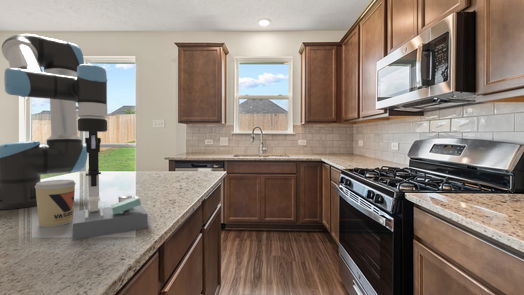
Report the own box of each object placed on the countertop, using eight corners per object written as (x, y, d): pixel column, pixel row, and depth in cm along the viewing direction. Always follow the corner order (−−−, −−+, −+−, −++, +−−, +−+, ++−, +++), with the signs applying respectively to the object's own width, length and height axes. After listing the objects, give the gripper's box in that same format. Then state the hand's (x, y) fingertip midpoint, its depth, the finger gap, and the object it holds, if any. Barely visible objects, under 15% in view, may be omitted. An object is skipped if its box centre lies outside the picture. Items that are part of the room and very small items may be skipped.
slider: (88, 209, 76) (87, 197, 76) (99, 208, 78) (99, 196, 78) (88, 212, 74) (87, 199, 73) (99, 211, 75) (99, 198, 75)
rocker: (112, 211, 74) (110, 204, 74) (139, 201, 78) (137, 195, 77) (113, 214, 71) (111, 207, 70) (141, 204, 74) (139, 197, 74)
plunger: (118, 206, 80) (118, 196, 80) (131, 204, 82) (131, 195, 82) (119, 208, 77) (119, 198, 77) (132, 207, 79) (132, 197, 79)
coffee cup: (54, 229, 72) (53, 185, 72) (26, 226, 74) (25, 183, 74) (83, 219, 82) (83, 180, 81) (58, 217, 83) (57, 178, 83)
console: (75, 225, 76) (75, 208, 76) (140, 216, 85) (140, 201, 85) (72, 239, 65) (72, 220, 65) (147, 227, 74) (147, 210, 74)
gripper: (78, 119, 83) (79, 194, 84) (76, 116, 72) (77, 202, 73) (106, 120, 87) (107, 192, 88) (108, 117, 76) (109, 199, 77)
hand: (93, 196), depth 80 cm, fingers closed
